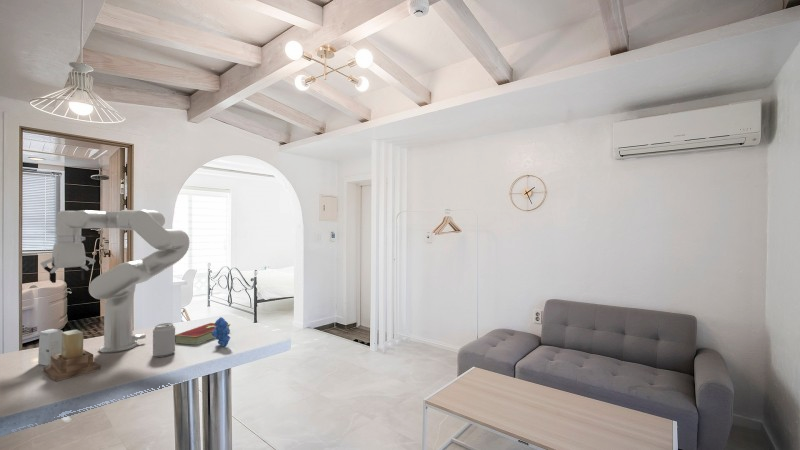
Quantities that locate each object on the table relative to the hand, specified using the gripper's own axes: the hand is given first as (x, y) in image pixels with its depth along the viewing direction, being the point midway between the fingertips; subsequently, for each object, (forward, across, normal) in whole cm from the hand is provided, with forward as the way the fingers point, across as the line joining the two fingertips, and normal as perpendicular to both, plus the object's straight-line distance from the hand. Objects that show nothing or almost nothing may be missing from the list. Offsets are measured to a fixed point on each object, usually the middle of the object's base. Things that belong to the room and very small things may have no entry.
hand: (69, 281), depth 152 cm
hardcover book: (+29, -40, +30) cm, 58 cm away
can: (+28, -19, +40) cm, 53 cm away
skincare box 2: (+27, +7, +31) cm, 42 cm away
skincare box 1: (+28, +9, +15) cm, 33 cm away
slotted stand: (+28, +7, +31) cm, 43 cm away
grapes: (+28, -37, +49) cm, 68 cm away
